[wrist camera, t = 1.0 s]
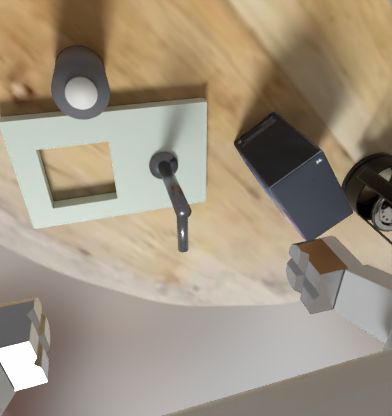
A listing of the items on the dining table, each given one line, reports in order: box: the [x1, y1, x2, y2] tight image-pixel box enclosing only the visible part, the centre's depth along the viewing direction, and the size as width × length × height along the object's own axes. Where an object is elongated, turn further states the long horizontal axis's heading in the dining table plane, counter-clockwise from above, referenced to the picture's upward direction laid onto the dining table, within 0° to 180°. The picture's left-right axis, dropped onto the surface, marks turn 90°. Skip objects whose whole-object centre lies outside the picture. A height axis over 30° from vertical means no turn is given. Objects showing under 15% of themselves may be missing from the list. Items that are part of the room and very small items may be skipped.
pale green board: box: [0, 97, 207, 229], centre depth 39 cm, size 12×20×2 cm, turn 90°
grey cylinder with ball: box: [51, 46, 110, 120], centre depth 30 cm, size 4×4×8 cm
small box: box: [234, 112, 353, 241], centre depth 41 cm, size 11×6×10 cm, turn 35°
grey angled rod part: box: [149, 152, 191, 252], centre depth 37 cm, size 7×3×10 cm, turn 1°
